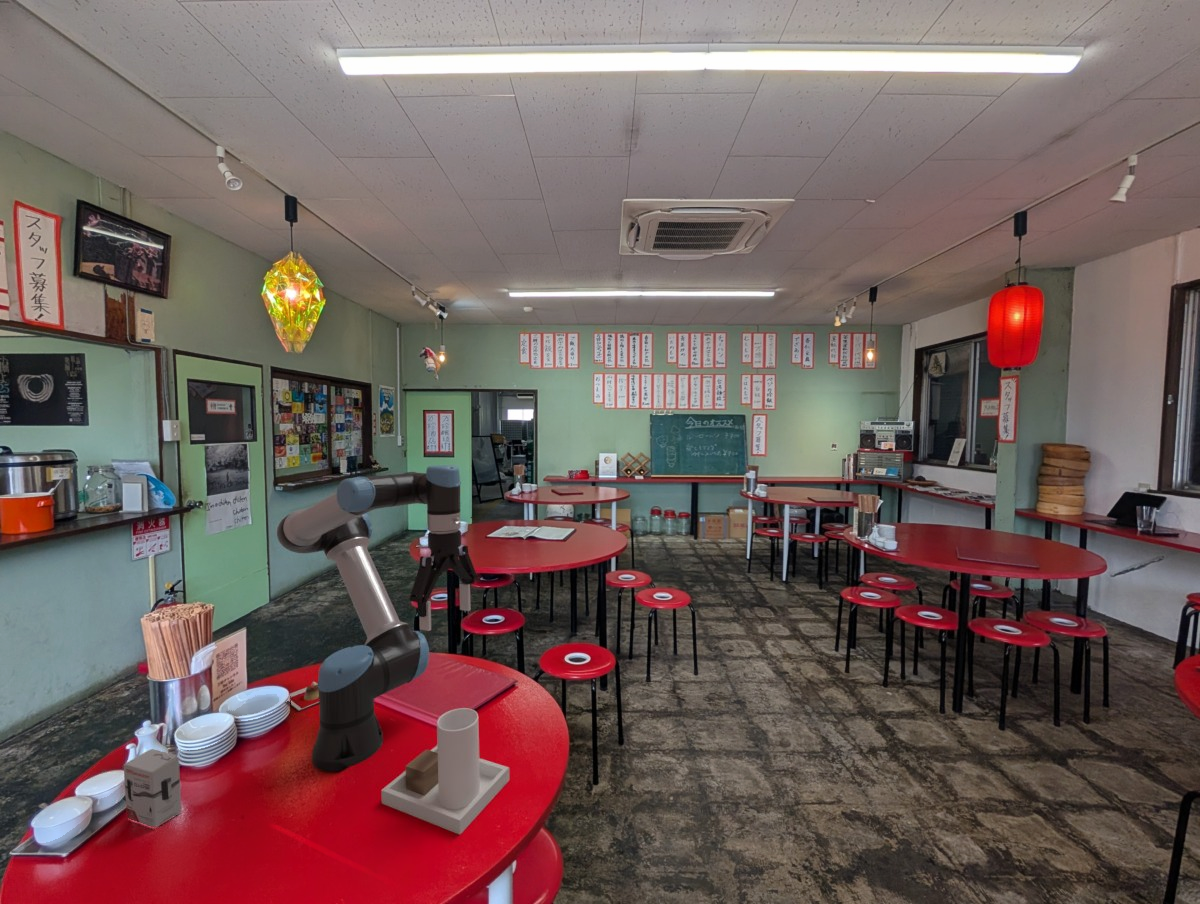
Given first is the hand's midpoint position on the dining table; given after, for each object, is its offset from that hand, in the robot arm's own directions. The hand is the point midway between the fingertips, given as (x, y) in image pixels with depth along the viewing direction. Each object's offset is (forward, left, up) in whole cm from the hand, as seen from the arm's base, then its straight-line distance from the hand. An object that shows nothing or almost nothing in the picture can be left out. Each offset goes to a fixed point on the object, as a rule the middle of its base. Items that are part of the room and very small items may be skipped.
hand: (446, 619), depth 118 cm
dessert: (-54, +4, -32) cm, 63 cm away
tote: (+10, -12, -32) cm, 35 cm away
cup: (+13, -12, -31) cm, 36 cm away
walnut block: (+4, -12, -31) cm, 33 cm away
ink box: (-40, -40, -32) cm, 65 cm away
